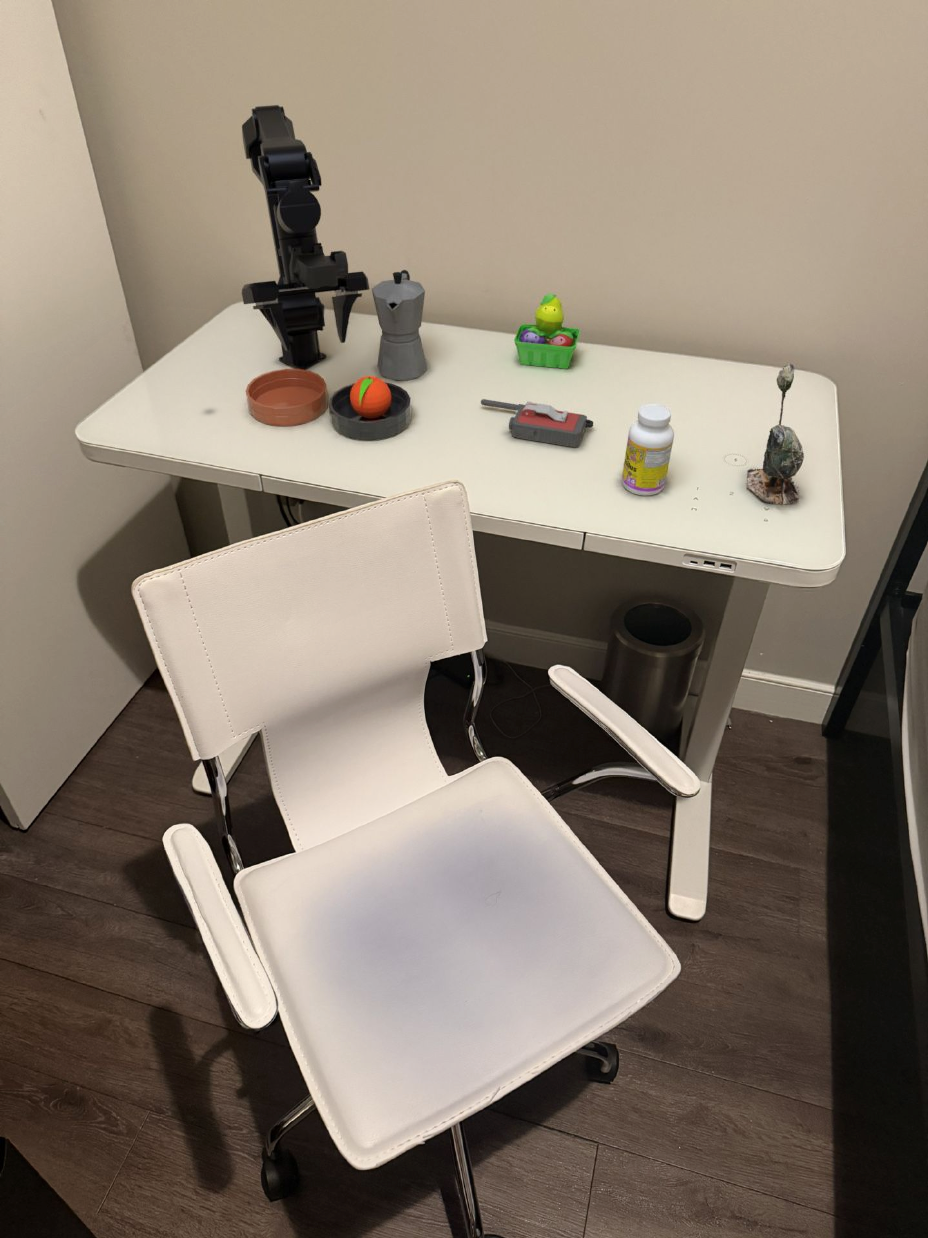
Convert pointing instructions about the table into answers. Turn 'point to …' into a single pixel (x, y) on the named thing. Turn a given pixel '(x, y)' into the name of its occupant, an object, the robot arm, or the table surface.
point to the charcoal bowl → (370, 429)
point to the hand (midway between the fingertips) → (315, 346)
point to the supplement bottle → (648, 450)
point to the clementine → (370, 397)
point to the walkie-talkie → (544, 423)
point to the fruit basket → (547, 337)
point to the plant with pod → (779, 457)
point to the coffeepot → (400, 327)
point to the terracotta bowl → (287, 397)
